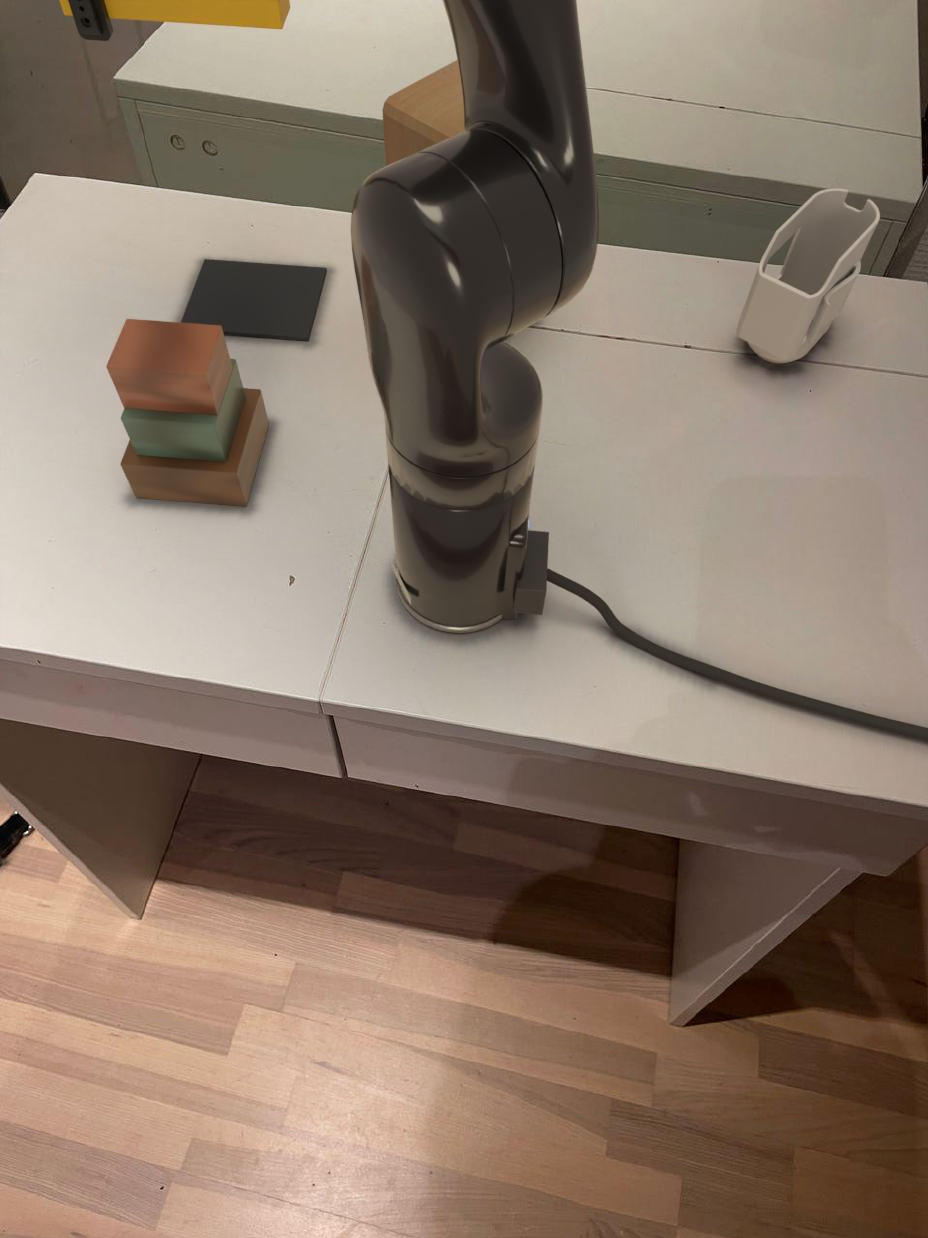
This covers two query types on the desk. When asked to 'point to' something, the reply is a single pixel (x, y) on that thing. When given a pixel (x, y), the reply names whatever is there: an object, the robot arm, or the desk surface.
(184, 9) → the yellow bar
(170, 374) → the toy tower
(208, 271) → the rubber mat
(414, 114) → the wooden block
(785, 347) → the cable organizer
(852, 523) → the desk surface
